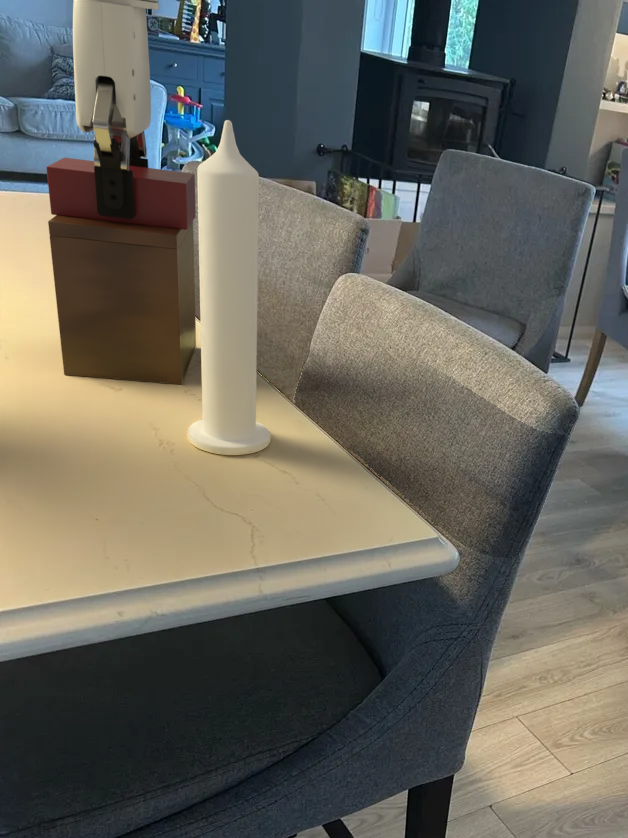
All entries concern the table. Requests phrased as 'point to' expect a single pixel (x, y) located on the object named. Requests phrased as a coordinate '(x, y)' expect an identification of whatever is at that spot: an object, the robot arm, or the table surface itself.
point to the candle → (228, 302)
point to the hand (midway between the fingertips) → (125, 207)
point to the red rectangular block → (153, 191)
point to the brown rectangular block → (124, 299)
